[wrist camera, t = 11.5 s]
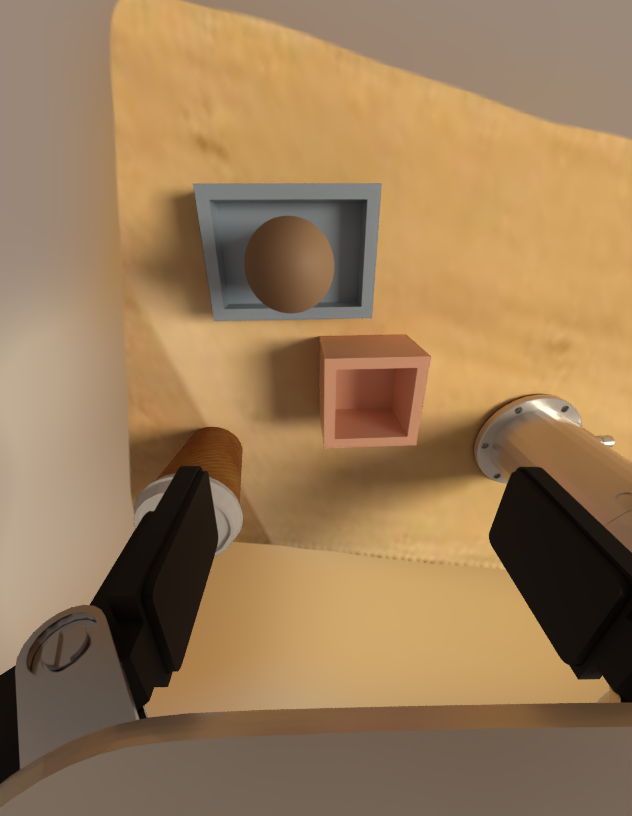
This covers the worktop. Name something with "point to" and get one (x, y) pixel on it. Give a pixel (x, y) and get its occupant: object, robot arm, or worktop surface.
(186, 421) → the worktop surface
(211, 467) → the disposable coffee cup
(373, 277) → the tray
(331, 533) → the worktop surface
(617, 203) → the worktop surface
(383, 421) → the terracotta open box
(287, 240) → the peg
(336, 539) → the worktop surface
